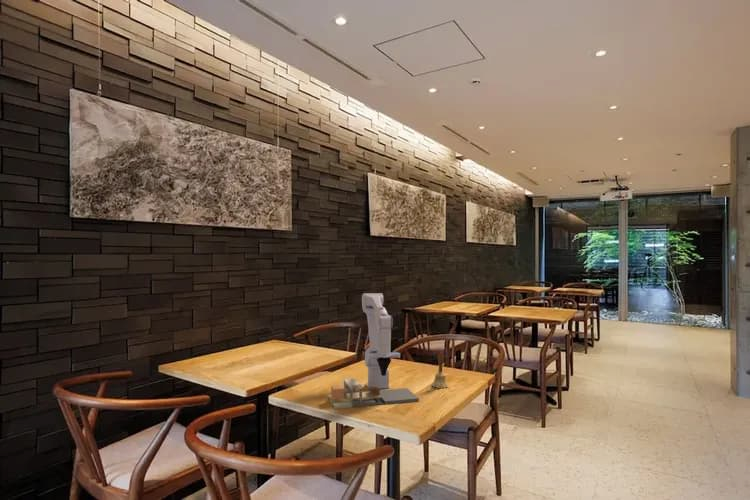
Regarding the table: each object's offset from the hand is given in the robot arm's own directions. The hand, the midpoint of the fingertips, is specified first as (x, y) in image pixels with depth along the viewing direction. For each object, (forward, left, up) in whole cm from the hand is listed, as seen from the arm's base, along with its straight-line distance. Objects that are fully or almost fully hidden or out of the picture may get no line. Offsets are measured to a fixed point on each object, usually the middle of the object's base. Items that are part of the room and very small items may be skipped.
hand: (383, 375), depth 183 cm
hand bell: (-31, -8, -10) cm, 33 cm away
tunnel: (+14, +2, -8) cm, 16 cm away
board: (+5, +2, -9) cm, 11 cm away
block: (+20, +2, -7) cm, 22 cm away
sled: (+13, +2, -8) cm, 15 cm away
